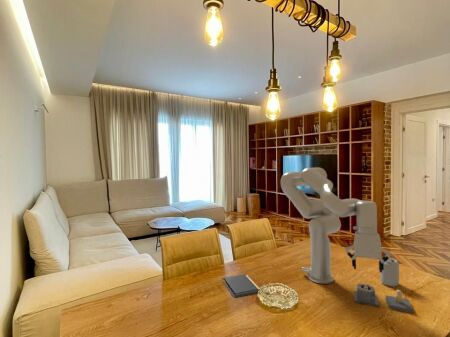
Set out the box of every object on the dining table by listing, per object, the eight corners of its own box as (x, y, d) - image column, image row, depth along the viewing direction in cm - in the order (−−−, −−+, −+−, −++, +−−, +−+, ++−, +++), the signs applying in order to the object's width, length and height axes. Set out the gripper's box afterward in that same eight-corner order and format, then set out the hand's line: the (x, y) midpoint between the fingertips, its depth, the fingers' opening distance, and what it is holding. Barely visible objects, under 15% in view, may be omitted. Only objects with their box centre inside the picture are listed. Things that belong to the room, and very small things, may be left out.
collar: (357, 299, 107) (357, 289, 107) (356, 292, 113) (356, 282, 113) (375, 303, 105) (375, 292, 105) (373, 295, 111) (373, 285, 111)
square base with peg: (389, 308, 102) (389, 292, 102) (385, 298, 110) (385, 283, 109) (413, 313, 99) (413, 297, 99) (407, 302, 106) (408, 287, 106)
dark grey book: (220, 275, 130) (247, 271, 134) (220, 279, 130) (247, 275, 134) (232, 295, 111) (264, 290, 115) (232, 300, 111) (264, 294, 115)
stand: (354, 302, 107) (354, 288, 107) (353, 292, 115) (353, 279, 115) (379, 307, 103) (379, 292, 103) (376, 296, 111) (376, 282, 111)
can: (401, 288, 118) (402, 262, 118) (384, 286, 120) (384, 261, 119) (394, 280, 126) (394, 256, 125) (377, 279, 127) (378, 255, 127)
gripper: (344, 230, 108) (345, 270, 108) (392, 234, 101) (393, 276, 101) (344, 226, 115) (344, 263, 115) (388, 229, 108) (389, 269, 108)
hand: (367, 269), depth 108 cm, fingers open, 9 cm apart
